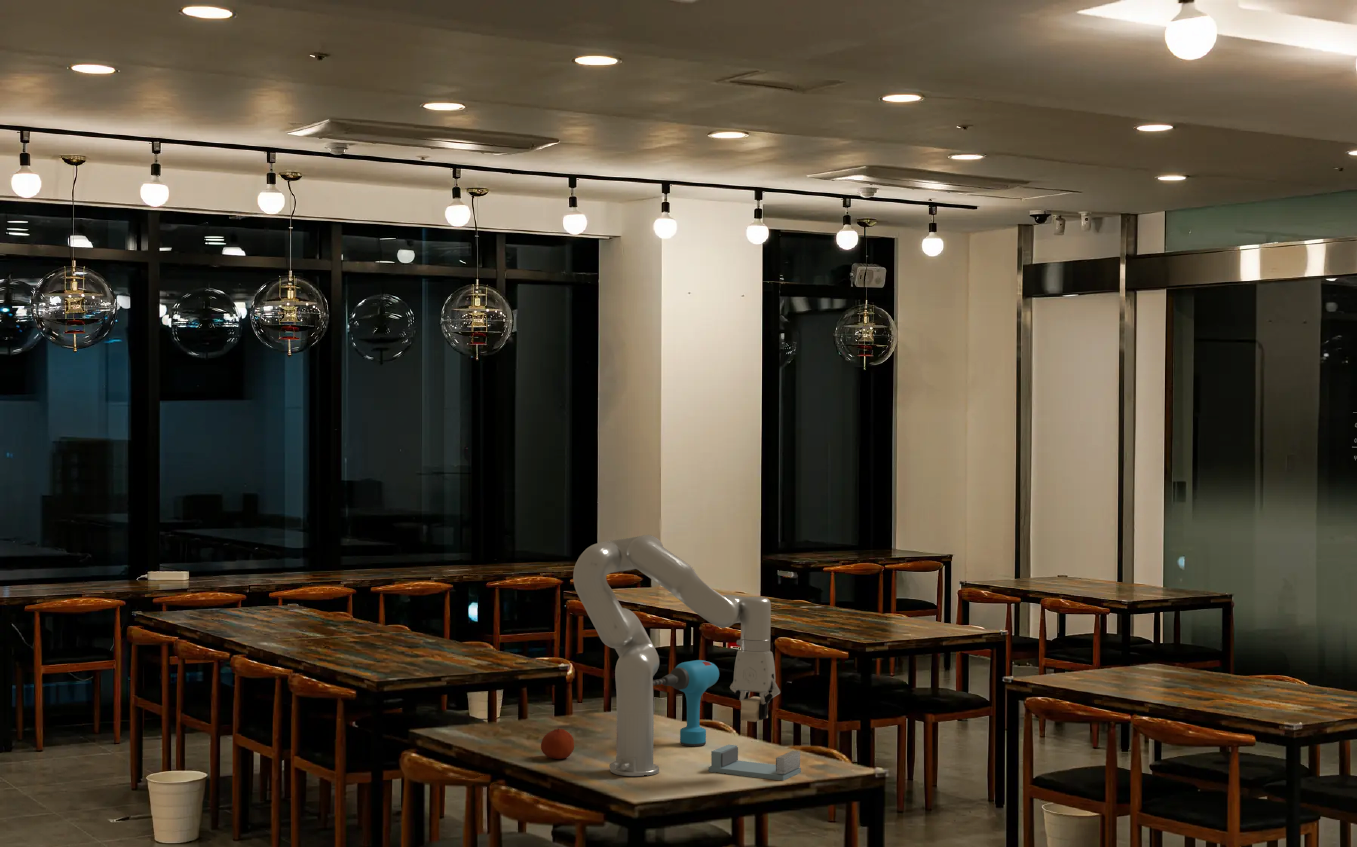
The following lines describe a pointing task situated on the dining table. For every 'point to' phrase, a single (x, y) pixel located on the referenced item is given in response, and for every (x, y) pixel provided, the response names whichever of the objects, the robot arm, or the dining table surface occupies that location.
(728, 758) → the vise
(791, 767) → the block
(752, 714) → the block
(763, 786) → the dining table surface
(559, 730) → the fruit
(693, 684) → the power drill
